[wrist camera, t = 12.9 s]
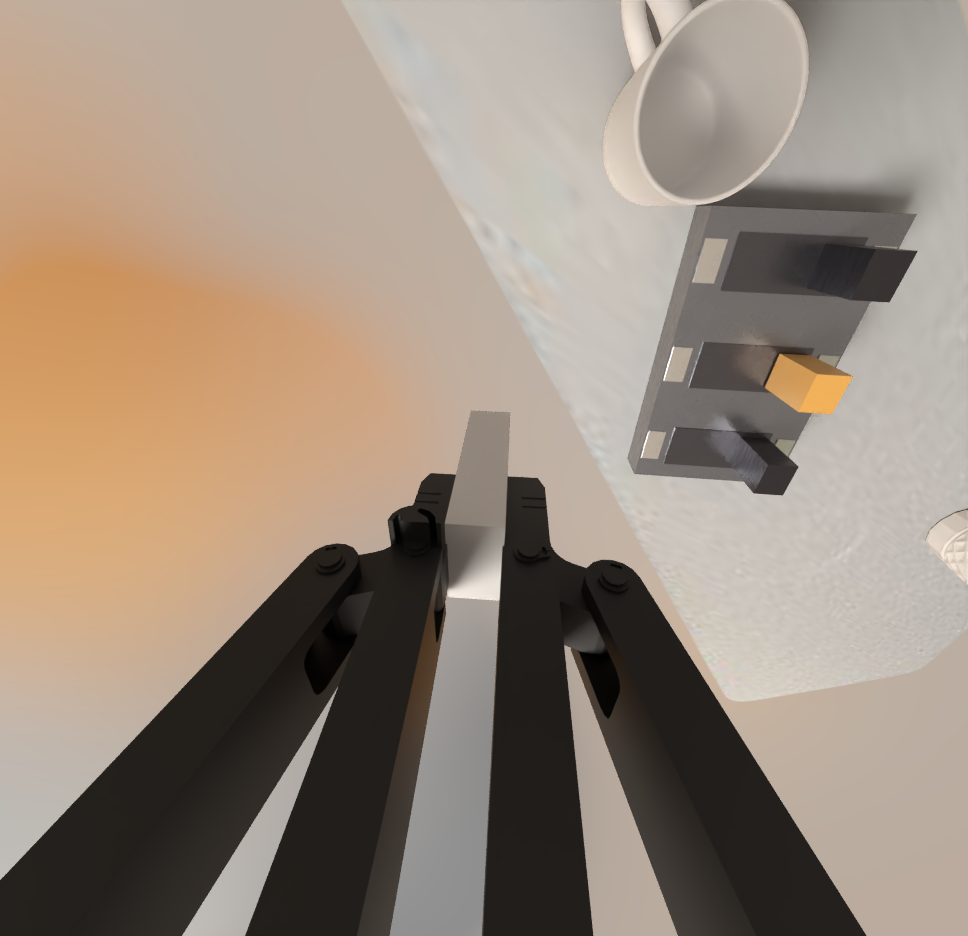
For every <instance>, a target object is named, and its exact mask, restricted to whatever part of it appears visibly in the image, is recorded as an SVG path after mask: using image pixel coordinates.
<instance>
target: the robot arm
mask: <svg viewBox="0 0 968 936" xmlns="http://www.w3.org/2000/svg"><path fill="white" fill-rule="evenodd" d="M509 427H510V413H509V412H487V411H471V413H470V418H469V422H468V426H467V430H466V435H465V439H464V443H463V447H462V452H461V456H460V460H459V464H458V469H457V473H456V475H453V474H434V473H431V474H429V475H428V476H427V477H426V478H425V479H424V480H423V481H422V482H421V485H420V488H419V490H418V494H417V496H416V499H415V503H414V504H413V506H407V507H404V508H401V509H399V510H397V511H396V512H394V513H393V514H392V515H391V516H390V518H389V519H388V526H389V533H390V540H391V547H389V548H386V549H384V550H381V551H378V552H373V553H368V554H363V555H358V553H357V552H356V550H355V549H354V548H353V547H351V546H348V545H346V544H331V545H326V546H324V547H321V548H319V549H317V550H315V551H314V552H313V553H312V554H310V555H309V556H307V558H306V559H305V560H304V561H303V562H302V563H301V564H300V565H299V566H298V567H297V568H296V569H295V570H294V571H293V572H292V573H291V574H290V575H289V577H288V578H287V579H286V580H285V581H284V582H283V583H282V584H281V585H280V586H279V587H278V588H277V589H276V590H275V591H274V592H273V593H272V595H271V596H270V597H269V598H268V599H267V600H266V601H265V602H264V603H263V604H262V605H261V606H260V607H259V608H258V609H257V610H256V611H255V612H254V614H252V616H251V617H250V618H249V619H248V620H247V621H246V622H245V623H244V624H243V625H242V626H241V627H240V628H239V629H238V630H237V631H236V632H235V633H234V634H233V636H232V637H231V638H230V639H229V640H228V641H227V642H226V643H225V644H224V645H223V646H222V647H221V648H220V649H219V650H218V651H217V652H216V653H215V655H214V656H213V657H212V658H211V659H210V660H209V661H208V662H207V663H206V664H205V665H204V666H203V667H202V668H201V669H200V670H199V671H198V672H197V674H196V675H195V676H194V677H193V678H192V679H191V680H190V681H189V682H188V683H187V684H186V685H185V686H184V687H183V688H182V689H181V691H179V692H178V694H177V695H176V696H175V697H174V698H173V699H172V700H171V701H170V702H169V703H168V704H167V705H166V706H165V707H164V708H163V709H162V710H161V711H160V713H159V714H158V715H157V716H156V717H155V718H154V719H153V720H152V721H151V722H150V723H149V724H148V725H147V726H146V727H145V728H144V729H143V730H142V731H141V732H140V734H139V735H138V736H137V737H136V738H135V739H134V740H133V741H132V742H131V743H130V744H129V745H128V746H127V747H126V748H125V749H124V750H123V751H122V753H121V754H120V755H119V756H118V757H117V758H116V759H115V760H114V761H113V762H112V763H111V764H110V765H109V766H108V767H107V768H106V769H105V770H104V771H103V773H102V774H101V775H100V776H99V777H98V778H97V779H96V780H95V781H94V782H93V783H92V784H91V785H90V786H89V787H88V788H87V789H86V790H85V792H84V793H83V794H82V795H81V796H80V797H79V798H78V799H77V800H76V801H75V802H74V803H73V804H72V805H71V806H70V808H68V809H67V810H66V812H65V813H64V814H63V815H62V816H61V817H60V818H59V819H58V820H57V821H56V822H55V823H54V824H53V825H52V826H51V827H50V829H48V831H47V832H46V833H45V834H44V835H43V836H42V837H41V838H40V839H39V840H38V841H37V842H36V843H35V844H34V845H33V846H32V847H31V848H30V850H29V851H28V852H27V853H26V854H25V855H24V856H23V857H22V858H21V859H20V860H19V861H18V862H17V863H16V864H15V866H13V867H12V868H11V870H10V871H9V872H8V873H7V874H6V875H5V876H4V877H3V878H2V879H1V880H0V936H182V935H183V933H184V932H185V930H186V928H187V927H188V925H189V924H190V922H191V920H192V919H193V917H194V916H195V914H196V912H197V911H198V909H199V908H200V906H201V904H202V902H203V901H204V899H205V898H206V896H207V895H208V893H209V892H210V890H211V889H212V887H213V885H214V884H215V882H216V881H217V879H218V877H219V876H220V874H221V873H222V871H223V869H224V868H225V866H226V865H227V863H228V861H229V860H230V858H231V856H232V855H233V853H234V852H235V850H236V849H237V847H238V845H239V844H240V842H241V841H242V839H243V837H244V836H245V834H246V833H247V831H248V829H249V827H250V826H251V824H252V823H253V821H254V819H255V818H256V816H257V815H258V813H259V812H260V810H261V809H262V807H263V805H264V804H265V802H266V801H267V799H268V797H269V796H270V794H271V793H272V791H273V789H274V788H275V786H276V785H277V783H278V781H279V780H280V778H281V777H282V775H283V773H284V772H285V770H286V769H287V767H288V766H289V764H290V762H291V761H292V759H293V757H294V756H295V754H296V753H297V751H298V750H299V748H300V746H301V745H302V743H303V741H304V740H305V738H306V737H307V735H308V734H309V732H310V730H311V729H312V727H313V725H314V724H315V722H316V721H317V719H318V718H319V716H320V714H321V713H322V711H323V710H324V708H325V706H326V705H327V703H328V702H329V700H330V698H331V697H332V695H333V694H334V692H335V690H336V689H337V687H338V689H337V691H336V694H335V697H334V699H333V702H332V705H331V707H330V711H329V713H328V716H327V718H326V721H325V724H324V726H323V729H322V732H321V735H320V737H319V740H318V742H317V745H316V748H315V751H314V753H313V756H312V758H311V761H310V764H309V767H308V769H307V772H306V774H305V777H304V780H303V782H302V785H301V788H300V790H299V793H298V796H297V799H296V801H295V804H294V807H293V810H292V812H291V815H290V817H289V820H288V823H287V825H286V828H285V831H284V833H283V836H282V839H281V842H280V844H279V847H278V849H277V852H276V855H275V858H274V860H273V863H272V865H271V868H270V871H269V873H268V876H267V879H266V882H265V884H264V887H263V890H262V893H261V895H260V898H259V900H258V903H257V906H256V908H255V911H254V914H253V917H252V919H251V922H250V924H249V927H248V930H247V932H246V935H245V936H389V935H390V929H391V923H392V918H393V912H394V906H395V900H396V895H397V889H398V884H399V877H400V872H401V866H402V861H403V855H404V849H405V843H406V837H407V832H408V827H409V820H410V815H411V809H412V803H413V798H414V792H415V786H416V781H417V775H418V769H419V764H420V758H421V753H422V747H423V741H424V735H425V729H426V724H427V718H428V713H429V706H430V701H431V696H432V690H433V684H434V678H435V673H436V667H437V661H438V655H439V649H440V644H441V638H442V633H443V627H444V621H445V616H446V608H445V600H446V595H447V590H448V597H456V598H470V599H485V600H499V601H500V602H499V619H498V637H497V657H496V676H495V696H494V714H493V733H492V752H491V754H492V755H491V771H490V791H489V811H488V829H487V848H486V867H485V887H484V907H483V925H482V936H593V929H592V919H591V908H590V899H589V890H588V879H587V869H586V859H585V849H584V839H583V829H582V819H581V810H580V800H579V790H578V779H577V770H576V760H575V750H574V740H573V730H572V720H571V710H570V701H569V690H568V681H567V671H566V661H565V652H564V651H565V650H564V645H566V646H568V647H571V651H572V654H573V656H574V659H575V662H576V664H577V667H578V670H579V673H580V675H581V678H582V680H583V683H584V686H585V689H586V691H587V694H588V697H589V699H590V702H591V705H592V707H593V710H594V713H595V715H596V718H597V721H598V723H599V726H600V729H601V731H602V734H603V736H604V739H605V742H606V745H607V747H608V750H609V752H610V755H611V758H612V760H613V763H614V766H615V769H616V771H617V774H618V777H619V779H620V782H621V785H622V787H623V790H624V792H625V795H626V798H627V801H628V803H629V806H630V809H631V811H632V814H633V817H634V819H635V822H636V825H637V827H638V830H639V832H640V835H641V838H642V840H643V843H644V846H645V849H646V851H647V854H648V857H649V859H650V862H651V865H652V867H653V870H654V873H655V875H656V878H657V881H658V883H659V886H660V889H661V891H662V894H663V897H664V899H665V902H666V905H667V907H668V910H669V913H670V915H671V918H672V921H673V923H674V926H675V929H676V931H677V934H678V936H866V934H865V933H864V931H863V929H862V928H861V926H860V925H859V923H858V922H857V920H856V918H855V917H854V915H853V914H852V912H851V911H850V909H849V907H848V906H847V904H846V903H845V901H844V900H843V898H842V896H841V895H840V893H839V892H838V890H837V889H836V887H835V885H834V884H833V882H832V881H831V879H830V877H829V876H828V874H827V873H826V871H825V869H824V868H823V866H822V865H821V863H820V862H819V860H818V858H817V857H816V855H815V854H814V852H813V850H812V849H811V847H810V846H809V844H808V843H807V841H806V840H805V838H804V836H803V835H802V833H801V832H800V830H799V828H798V827H797V826H796V824H795V822H794V821H793V819H792V817H791V816H790V814H789V813H788V811H787V809H786V808H785V806H784V805H783V803H782V802H781V800H780V798H779V797H778V796H777V794H776V792H775V790H774V789H773V787H772V786H771V784H770V783H769V781H768V780H767V778H766V776H765V775H764V773H763V771H762V770H761V768H760V767H759V765H758V764H757V762H756V760H755V759H754V757H753V756H752V754H751V752H750V751H749V749H748V748H747V746H746V745H745V743H744V741H743V740H742V738H741V737H740V735H739V734H738V732H737V730H736V729H735V727H734V726H733V724H732V722H731V721H730V719H729V718H728V716H727V715H726V713H725V711H724V710H723V708H722V707H721V705H720V703H719V702H718V700H717V699H716V697H715V696H714V694H713V692H712V691H711V689H710V688H709V686H708V685H707V683H706V681H705V680H704V678H703V677H702V675H701V673H700V672H699V670H698V669H697V667H696V666H695V664H694V662H693V661H692V659H691V658H690V656H689V655H688V653H687V651H686V650H685V649H684V647H683V645H682V643H681V642H680V640H679V639H678V637H677V636H676V634H675V633H674V631H673V629H672V628H671V626H670V624H669V623H668V621H667V620H666V618H665V617H664V615H663V613H662V612H661V610H660V609H659V607H658V605H657V604H656V602H655V601H654V599H653V598H652V596H651V595H650V593H649V591H648V590H647V588H646V586H645V585H644V583H643V582H642V580H641V579H640V577H639V576H638V575H637V574H636V573H635V572H634V570H633V569H631V568H630V567H628V566H626V565H625V564H623V563H620V562H617V561H613V560H600V561H596V562H593V563H592V564H591V565H590V566H589V567H587V568H584V567H581V566H578V565H575V564H572V563H570V562H568V561H565V560H564V559H563V558H561V557H560V556H558V555H557V554H556V553H555V552H554V550H553V548H552V547H551V544H550V538H549V527H548V516H547V509H546V508H547V506H546V495H545V487H544V486H543V485H542V484H541V482H540V481H539V479H538V478H526V477H525V478H524V477H508V476H507V475H508V451H509V450H508V449H509Z"/></svg>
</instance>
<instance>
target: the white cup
mask: <svg viewBox="0 0 968 936" xmlns="http://www.w3.org/2000/svg"><path fill="white" fill-rule="evenodd" d="M926 542H927V545H928V547H929V549H930V550H931V551H933V552H934V553H935V554H936V555H937V556H938V557H939V558H940V559H942V560H943V561H944V562H945V563H946V564H947V566H948V567H949V568H950V569H951V570H952V571H953V572H954V573H956V574H957V575H958V576H959V577H960V578H961V579H962V580H963V581H964V582H965V583H966V584H967V585H968V510H964V511H960V512H957V513H954V514H952V515H950V516H948V517H946V518H944V519H942V520H941V521H939V522H938V523H937V524H936V525H935V526H934V527H933V528H932V529H931V530H930V531H929V533H928V536H927V538H926Z"/></svg>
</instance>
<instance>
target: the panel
mask: <svg viewBox="0 0 968 936" xmlns="http://www.w3.org/2000/svg"><path fill="white" fill-rule="evenodd" d="M916 215H917V214H900V213H876V212H852V211H828V210H805V209H781V208H757V207H733V206H696V209H695V213H694V216H693V220H692V224H691V227H690V231H689V235H688V238H687V242H686V246H685V249H684V253H683V257H682V260H681V264H680V268H679V271H678V275H677V279H676V282H675V286H674V290H673V294H672V297H671V301H670V305H669V308H668V312H667V316H666V319H665V323H664V327H663V330H662V334H661V338H660V341H659V345H658V349H657V352H656V356H655V360H654V363H653V367H652V371H651V374H650V378H649V382H648V385H647V389H646V393H645V396H644V400H643V404H642V407H641V411H640V415H639V418H638V422H637V426H636V429H635V433H634V437H633V441H632V444H631V448H630V452H629V455H628V461H629V463H630V465H631V468H632V470H633V472H634V474H643V475H658V476H672V477H687V478H701V479H716V480H730V481H744V482H745V483H746V485H747V486H748V487H749V488H750V489H751V491H752V492H753V493H757V494H771V495H783V494H784V492H785V490H786V489H787V487H788V485H789V483H790V481H791V479H792V478H793V476H794V474H795V472H796V470H797V469H798V466H797V465H796V464H795V463H794V462H793V461H792V460H791V459H790V458H788V457H789V455H790V453H791V451H792V449H793V448H794V446H795V444H796V442H797V440H798V438H799V436H800V434H801V432H802V430H803V429H804V427H805V425H806V423H807V421H808V419H809V417H810V415H811V413H806V412H798V411H796V410H795V409H793V408H792V407H791V406H789V405H788V404H787V403H785V402H784V401H782V400H781V399H780V398H778V397H777V396H775V395H774V394H773V393H771V392H770V391H768V390H767V389H766V388H765V386H766V384H767V381H768V379H769V377H770V375H771V372H772V370H773V368H774V366H775V363H776V361H777V359H778V357H779V354H795V355H811V356H813V357H815V358H817V359H819V360H821V361H823V362H825V363H827V364H829V365H831V366H833V367H835V368H836V366H837V364H838V362H839V360H840V358H841V357H842V355H843V353H844V351H845V349H846V347H847V345H848V343H849V341H850V340H851V338H852V336H853V334H854V332H855V330H856V328H857V326H858V324H859V322H860V321H861V319H862V317H863V315H864V313H865V311H866V309H867V307H868V305H869V304H870V302H871V301H874V302H890V300H891V298H892V297H893V295H894V293H895V291H896V289H897V288H898V286H899V284H900V282H901V280H902V279H903V277H904V275H905V273H906V271H907V269H908V268H909V266H910V264H911V262H912V260H913V259H914V257H915V255H916V253H917V251H912V250H903V249H899V247H900V245H901V243H902V241H903V239H904V237H905V235H906V233H907V232H908V230H909V228H910V226H911V224H912V222H913V220H914V218H915V216H916Z"/></svg>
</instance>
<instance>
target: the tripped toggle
mask: <svg viewBox="0 0 968 936" xmlns="http://www.w3.org/2000/svg"><path fill="white" fill-rule="evenodd" d="M852 377H853V376H851V375H849V374H847V373H845V372H843V371H841V370H839V369H837V368H835V367H833V366H831V365H829V364H827V363H825V362H823V361H821V360H819V359H817V358H815V357H813V356H811V355H795V354H779V357H778V359H777V361H776V363H775V366H774V368H773V370H772V372H771V375H770V377H769V379H768V381H767V384H766V386H765V388H766V389H767V390H768V391H770V392H771V393H773V394H774V395H775V396H777V397H778V398H780V399H781V400H782V401H784V402H785V403H787V404H788V405H789V406H791V407H792V408H793V409H795V410H796V411H798V412H806V413H822V414H832V413H833V411H834V409H835V408H836V406H837V404H838V402H839V400H840V399H841V397H842V395H843V393H844V391H845V390H846V388H847V386H848V384H849V383H850V381H851V379H852Z"/></svg>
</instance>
